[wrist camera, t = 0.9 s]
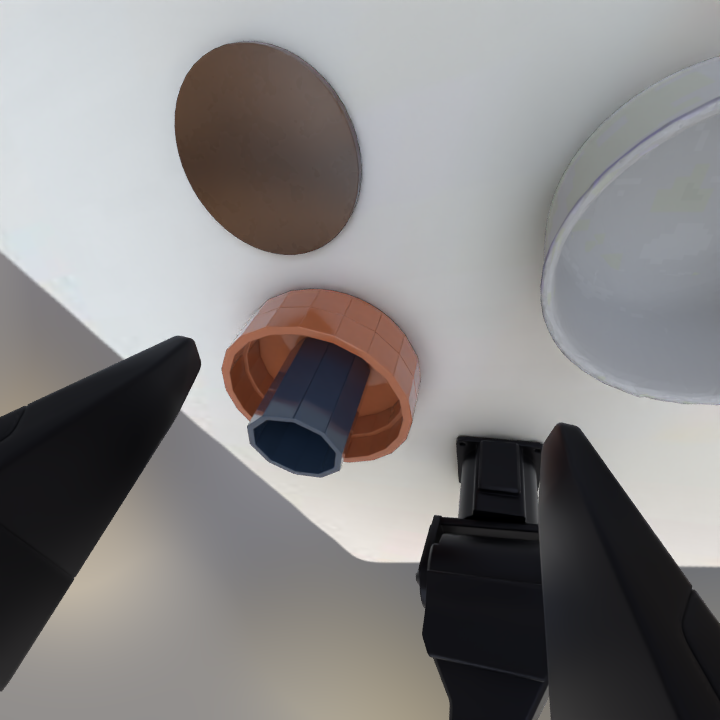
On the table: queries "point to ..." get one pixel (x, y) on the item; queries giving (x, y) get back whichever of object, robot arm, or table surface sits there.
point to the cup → (311, 409)
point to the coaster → (268, 147)
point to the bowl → (347, 330)
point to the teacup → (643, 245)
